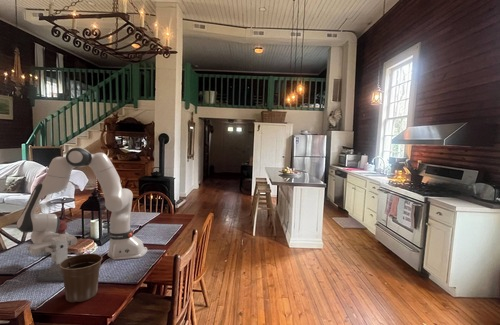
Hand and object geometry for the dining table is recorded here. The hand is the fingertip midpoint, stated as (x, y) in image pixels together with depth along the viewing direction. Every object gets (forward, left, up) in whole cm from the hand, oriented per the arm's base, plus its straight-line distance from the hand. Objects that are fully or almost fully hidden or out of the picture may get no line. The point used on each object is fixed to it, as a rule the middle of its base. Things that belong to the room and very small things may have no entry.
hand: (60, 248), depth 139 cm
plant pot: (-20, +18, -14) cm, 30 cm away
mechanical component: (+30, -52, -14) cm, 61 cm away
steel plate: (0, -1, -14) cm, 14 cm away
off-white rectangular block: (+1, -1, -7) cm, 7 cm away
